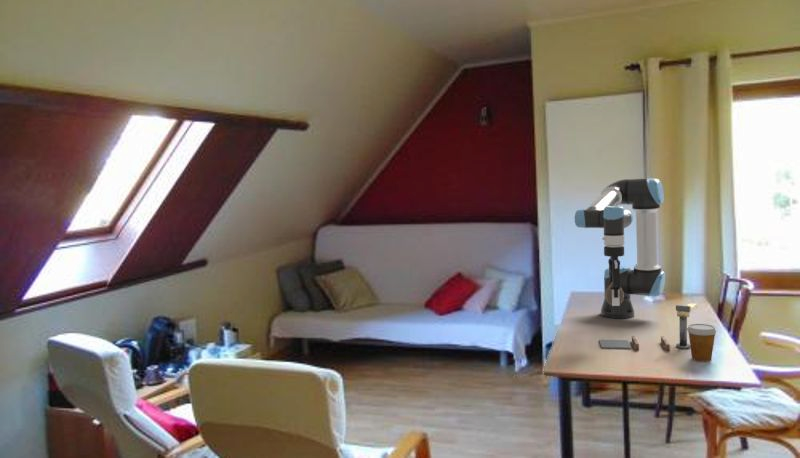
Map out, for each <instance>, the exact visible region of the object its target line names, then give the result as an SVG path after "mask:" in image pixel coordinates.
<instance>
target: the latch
mask: <svg viewBox="0 0 800 458" xmlns="http://www.w3.org/2000/svg"><path fill="white" fill-rule="evenodd" d="M696 309H697V303H694V302H693V303H691V302H689V304H687V305H684V304H683V305H682V304H676V305H675V311H676V316H677V317H679V318H680V317H687V318H689V317H690V314H691V313H692V312H693V311H694V310H696Z"/></svg>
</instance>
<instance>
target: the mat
mask: <svg viewBox="0 0 800 458" xmlns="http://www.w3.org/2000/svg"><path fill="white" fill-rule="evenodd" d="M598 341H599V345H600V347H601V349H603V350H604V349H608V350H632V346H631V344H630V342H629V340H628V339H599V340H598Z"/></svg>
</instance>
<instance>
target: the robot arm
mask: <svg viewBox="0 0 800 458" xmlns="http://www.w3.org/2000/svg"><path fill="white" fill-rule="evenodd" d="M664 198H665V193H664V188H663V185H662V182H661V181H660V180H659V179H658V178H630V179H628V178H627V179H625V178H624V179H620V180H617V181H615V182H612V183H610V184H609V185H607V186H606V187H605V188H604V189H603V190H602V191H601V193H600V195H599V196H598V197H597V198H596V200H595V201H593V202H592V204H590V205H589V206H588V207H587V208H586V209H584V208H583V209H578V210H576V211H575V214H574V224H575V226H576V228H583V229H603V237H602V241H603V245H604V246H603V255H604V256H605V257H610V258H608V268H606V269H605V270H604V273H603V274H604V275H603V276H604V277H603V280H604V281H603V283H604V284H603V285H604V286H603V287H604V290H603V291H604V295H605V293H606V289H607V288H608V287H609V285H610V284H611V282H612V288H610V289H612V305H610V304H609V303H608V302H607V300H606V297H605V296H604V299H603V302H602V305H601V309H600V316H602V317H604V318H605V317H606V318H612V319H629V318H633V317H635V309H634V306H633V303H632V300H631V295H635V296H645V297H646V296H647V297H659V296H661V295H662V293H663V291H664V289H665V283H666V272H665V271H663V270H662V266H661V265H660V264H659V263H658V243H657V240H658V238H657V236H658V234H657V233H658V232H657V228H658V227H657V226H658V225H657V212H658V210H659V209H661V207H660V206H661V205H663V204H664V201H665V199H664ZM622 205H631V206H632V210H633V211H634V212H635V224H636V226H635V227H636V228H635V229H636V230H635V231H636V261H637V263H636V264H634V265H633V269H631V266H629V265H621V261H620V260H619V257H623V256H625V246H624V245H625V229H626V228H628V227H629V226H630V225H632V223H633V221H634V216H633V213H632V212H631V211H630V210H629V209H624V207H623V206H622ZM620 287H621V288H622V290H623V293H624V299H623V301H622V303H621V304H620V299H619V289H620Z"/></svg>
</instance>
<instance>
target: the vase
mask: <svg viewBox="0 0 800 458" xmlns="http://www.w3.org/2000/svg"><path fill="white" fill-rule="evenodd" d="M610 288H612V282H611V284H610V285H609V287H608V288H607V289H606V293H605V294H604V298H605V297H606V300H607V302H608V303H609V304H610V305H612V289H610ZM619 299H620V304H621V303H622V301H623V299H624V293H623V290H622V288H621V287H620V289H619Z"/></svg>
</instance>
